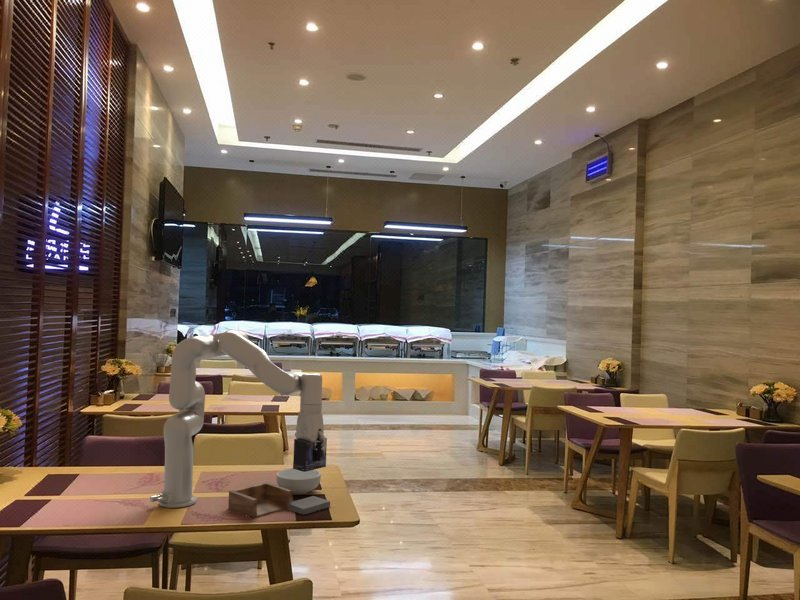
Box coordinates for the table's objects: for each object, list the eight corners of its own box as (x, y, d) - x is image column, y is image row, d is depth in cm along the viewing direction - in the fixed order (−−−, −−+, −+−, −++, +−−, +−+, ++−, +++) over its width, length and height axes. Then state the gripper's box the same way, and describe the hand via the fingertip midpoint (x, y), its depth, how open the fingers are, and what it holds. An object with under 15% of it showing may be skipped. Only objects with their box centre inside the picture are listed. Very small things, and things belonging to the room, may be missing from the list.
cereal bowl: (300, 501, 220) (301, 481, 221) (266, 493, 229) (267, 474, 229) (329, 490, 235) (329, 471, 235) (296, 483, 244) (296, 465, 244)
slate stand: (303, 514, 205) (303, 508, 205) (286, 508, 211) (287, 503, 211) (330, 507, 214) (330, 501, 214) (313, 501, 220) (313, 495, 220)
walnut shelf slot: (252, 518, 201) (253, 500, 201) (228, 508, 210) (228, 491, 210) (291, 507, 213) (291, 490, 213) (266, 498, 222) (267, 482, 222)
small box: (304, 472, 207) (305, 441, 207) (292, 469, 211) (292, 439, 211) (327, 466, 215) (327, 437, 215) (314, 463, 219) (315, 434, 219)
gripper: (287, 406, 216) (285, 456, 216) (319, 412, 205) (317, 465, 204) (303, 404, 222) (302, 453, 222) (335, 409, 210) (334, 461, 210)
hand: (309, 458), depth 213 cm, fingers closed on small box, 6 cm apart
